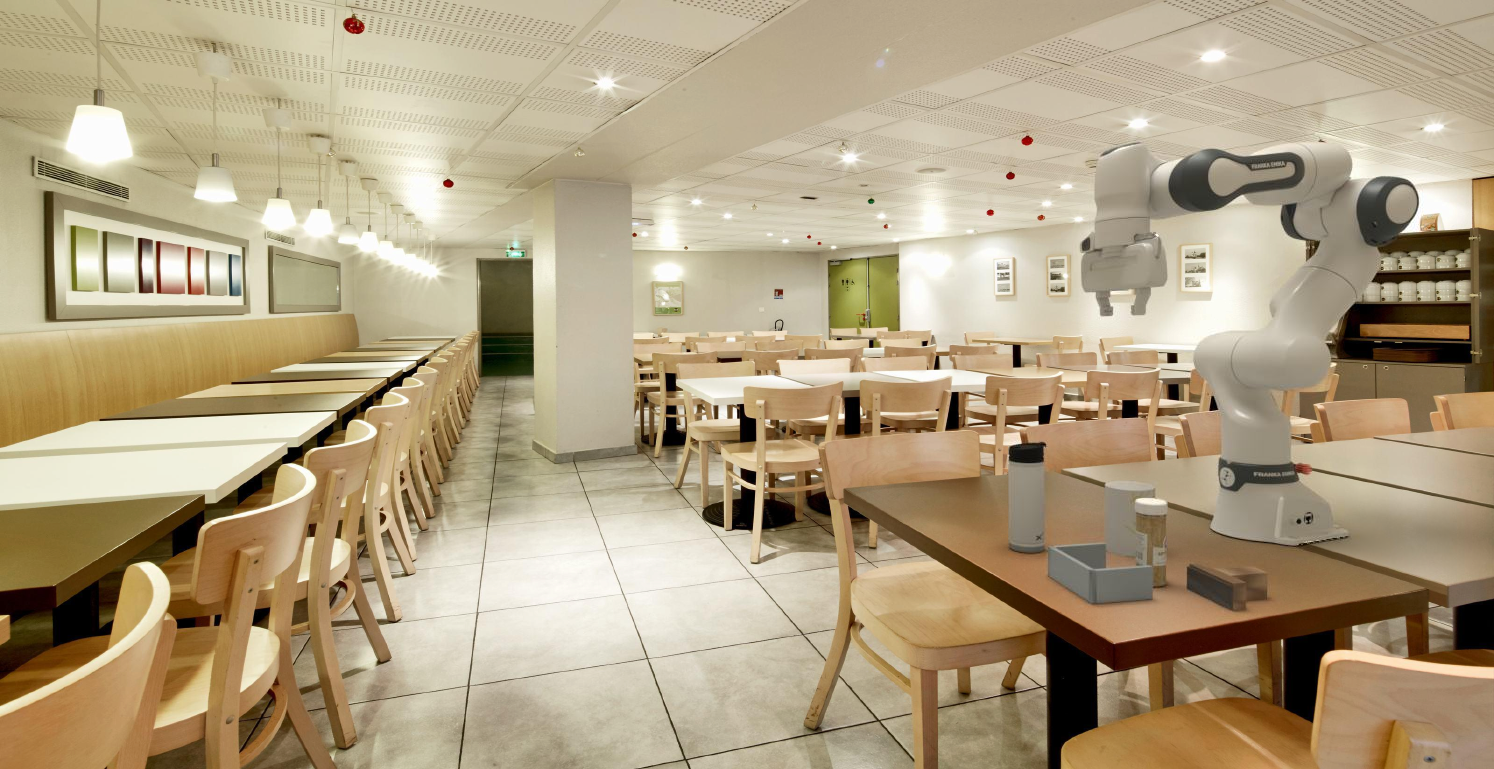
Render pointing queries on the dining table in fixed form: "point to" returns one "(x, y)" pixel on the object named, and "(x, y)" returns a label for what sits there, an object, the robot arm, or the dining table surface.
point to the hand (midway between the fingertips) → (1121, 315)
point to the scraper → (1227, 584)
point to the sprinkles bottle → (1152, 536)
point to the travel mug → (1026, 497)
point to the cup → (1123, 515)
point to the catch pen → (1098, 574)
